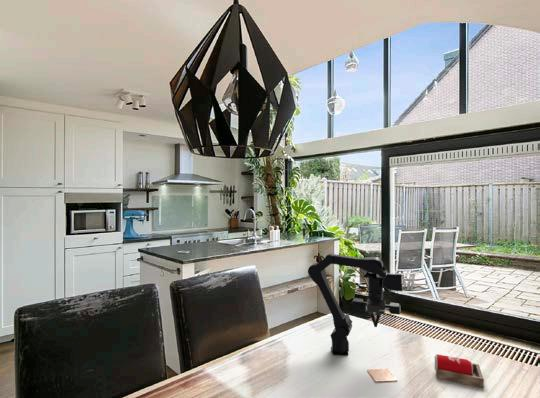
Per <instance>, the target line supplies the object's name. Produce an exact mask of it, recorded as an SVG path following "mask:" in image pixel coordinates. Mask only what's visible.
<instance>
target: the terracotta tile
mask: <svg viewBox="0 0 540 398" xmlns="http://www.w3.org/2000/svg"><path fill="white" fill-rule="evenodd" d="M367 372H368V374H369V376H370V377H371V378H372V379H373V381H374V382H375V383H377V384H378V383H396V382H398V379H397V378H396V377H395V375H394V374H393V373H392V372H391V370H389V368H373V369H372V368H371V369H367Z"/></svg>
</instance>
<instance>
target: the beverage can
mask: <svg viewBox="0 0 540 398" xmlns="http://www.w3.org/2000/svg"><path fill="white" fill-rule="evenodd" d="M472 363H473V362H472V361H471V360H468V359H466V358H460V357H455V356H449V355H445V354H444V355H443V354H437V353H436V354H435V356H434V370H435V371H436V369H441V370H446V371H451V372H456V373H461V374H466V375H472V376H473V366H472Z"/></svg>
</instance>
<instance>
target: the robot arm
mask: <svg viewBox="0 0 540 398" xmlns="http://www.w3.org/2000/svg"><path fill="white" fill-rule="evenodd" d="M330 265H336V266H337V265H339V266H345V267H352V268H358V269H361V270H363V271H365V273H364V274H363V276H362V277H363V278H367V283H368V285H367V289H368V291H367V293H368V294H367V298H366V301H364V299H363V298H357V297H354V298H353V300H351V303H350V305H351V306H350V308H351V309H356V310H360V309H361V308H362V307H365V312H366V313H368V314H369V315H370V318H371V320H372V324H373V326H374V327H375V328H377V327H378V324H379V321H380V318H381V317H382V315H385V313H386V311H387V310H388V312H389V313H390V314H392V315H400V314H401V304H400V303H397V302H392V301H391V302H390V303H389V304H386V300H385V299H384V288H385V289H387V291H393V292H394V291H395V292H403V278H402V276H403V274H402V273H390V272H389V271H388V270H387V269H386V267H385V265H384V262H383V260H382V259H381V258H380V257H377V256H367V257H357V256H349V255H343V254H336V253H328V254H326V255H325V257H324V258H323V259H321V260H320V261H319V262H314V263H313V264H312V265H310V266H309V267H308V270H307V273H308V276H309V277H310V279H311V280H312V282H313V283H315V285H317V287H318V289H319V290H320V292H321V295H322V298H323V299H324V301H325V304H326V305H327V307H328V310H329V312H330V314H331V317H332V319H333V325H334V329H333V330H332V332H331V333H330V339H331V347H330V349H331V354H332V355H333V356H335V355H336V356H348V355H349V351H350V349H349V347H350V346H349V345H350V342H349V339H348V336H349V335H350V333H351V331H352V328H353V320H351V318H350V314H349V312H348V313H346V314H345V313H344V312H343V310H342V309H341V307H340V305H339V303H338V300H337V298H336V296H335V294H334V292H333V291H332V288H331V286H330V284H329V282H328V277H327V272H326V268H327V267H329V266H330Z"/></svg>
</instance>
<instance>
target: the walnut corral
mask: <svg viewBox="0 0 540 398" xmlns="http://www.w3.org/2000/svg"><path fill="white" fill-rule="evenodd" d="M472 366H473V376H472V375H466V374H461V373H456V372H451V371H446V370H441V369H436V370H435V371H436V375H435V376H436V377H435V378H436V379H439V380H445V381H449V382H454V383H457V384H458V383H459V384H463V385H466V386H467V385H468V386H472V387H473V386H474V387H477V388H483V389H484V388H485V386H484V383H485V382H484V377H483V376H484V375H483V373H482V369H481V366H480V364H479V363H473V362H472Z"/></svg>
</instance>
